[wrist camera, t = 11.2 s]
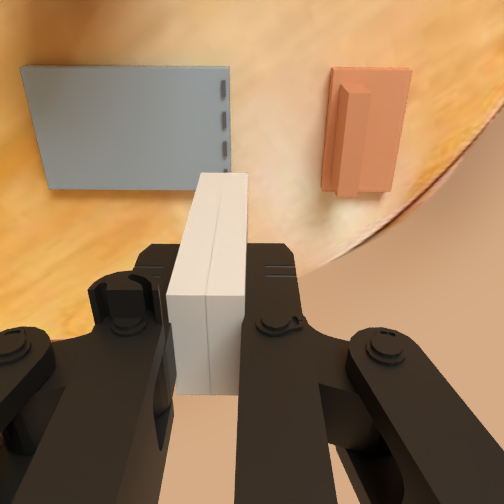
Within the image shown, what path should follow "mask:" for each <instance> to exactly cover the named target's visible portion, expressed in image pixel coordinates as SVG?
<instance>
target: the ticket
mask: <svg viewBox="0 0 504 504" xmlns="http://www.w3.org/2000/svg"><path fill="white" fill-rule="evenodd" d="M19 68H20V72H21V76H22V80H23V84H24V88H25V93H26V97H27V101H28V105H29V109H30V113H31V117H32V122H33V126H34V130H35V134H36V138H37V142H38V146H39V151H40V155H41V159H42V163H43V167H44V171H45V175H46V180H47V184H48V188H49V189H81V190H196V188H197V185H198V181H199V178H200V174H201V173H231V134H230V78H229V67H211V66H81V65H25V66H22V67H19Z"/></svg>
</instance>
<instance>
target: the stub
mask: <svg viewBox="0 0 504 504" xmlns="http://www.w3.org/2000/svg"><path fill="white" fill-rule="evenodd" d="M411 76H412V70H411V69H409V68H341V67H332V69H331V80H330V91H329V102H328V113H327V124H326V135H325V146H324V157H323V168H322V179H321V188H322V191H335V193H336V196H337V197H350V198H357V196H358V192H391V188H392V182H393V177H394V171H395V166H396V160H397V154H398V149H399V143H400V137H401V132H402V126H403V121H404V115H405V109H406V104H407V98H408V92H409V87H410V81H411Z"/></svg>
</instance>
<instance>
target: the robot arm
mask: <svg viewBox="0 0 504 504" xmlns="http://www.w3.org/2000/svg"><path fill="white" fill-rule="evenodd" d="M88 295H89V299H90V304H91V308H92V313H93V317H94V322H95V326H94V328H93V330H92V332H91V333H88V334H86V335H83V336H79V337H76V338H71V339H66V340H61V341H57V342H52V343H51V341H50V337H49V336H48V335H47V334H46V332H45V331H44V330H41V329H38V328H36V327H17V328H12V329H7V330H4V331H2V332H0V504H158V500H159V494H160V489H161V484H162V478H163V472H164V467H165V462H166V456H167V450H168V445H169V440H170V434H171V429H172V423H173V418H174V409H173V401H172V396H173V391H174V386H175V381H176V389H177V395H239V397H238V422H237V447H236V448H237V449H236V471H235V498H234V504H338V503H337V498H336V491H335V484H334V478H333V472H332V466H331V460H330V453H329V447H328V443H330V444H334V445H335V446H336V451H337V453H338V455H339V457H340V460H341V462H342V464H343V466H344V468H345V471H346V473H347V475H348V477H349V479H350V482H351V484H352V486H353V489H354V491H355V493H356V495H357V497H358V500H359V502H360V504H504V451H503V449H502V448H501V447H500V446H499V444H498V443H497V442H496V441H495V440H494V438H493V437H492V436H491V435H490V433H489V432H488V431H487V430H486V428H485V427H484V426H483V425H482V423H481V422H480V421H479V420H478V419H477V417H476V416H475V415H474V414H473V412H472V411H471V410H470V409H469V407H468V406H467V405H466V404H465V402H464V401H463V400H462V399H461V398H460V397H459V395H458V394H457V393H456V392H455V390H454V389H453V388H452V387H451V385H450V384H449V383H448V382H447V381H446V379H445V378H444V377H443V375H442V374H441V373H440V372H439V370H438V369H437V368H436V367H435V366H434V364H433V363H432V362H431V361H430V359H429V358H428V357H427V356H426V354H425V353H424V352H423V351H422V349H421V348H420V347H419V346H418V345H417V344H416V343H415V342H414V341H413V340H412V339H411V338H409V337H408V336H406V335H404V334H402V333H400V332H398V331H396V330H391V329H387V328H383V327H379V328H367V329H364V330H361V331H358V332H357V333H356V334H355V335H354V336H352V337H351V340H350V341H345V340H341V339H337V338H333V337H330V336H327V335H324V334H322V333H320V332H318V331H316V330H315V329H314V328H312V327H311V326H310V325H309V324H308V322H307V320H306V318H305V317H304V316H303V314H302V308H301V302H300V295H299V288H298V282H297V277H296V268H295V261H294V255H293V253H292V252H291V251H290V249H289V248H288V247H287V246H286V245H285V244H281V243H248V173H201V174H200V178H199V181H198V185H197V188H196V192H195V195H194V199H193V202H192V206H191V209H190V213H189V216H188V220H187V223H186V227H185V230H184V234H183V237H182V241H181V244H151V245H150V246H148V247H147V248H146V249H145V250H144V251H142V252H141V253H140V254H139V256H138V259H137V261H136V263H135V268H133V270H132V271H122V272H116V273H113V274H110V275H106V276H104V277H102V278H100V279H99V280H97V281H95V282H94V283H93V284H92V285H91V286H90V287H89V289H88Z"/></svg>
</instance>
